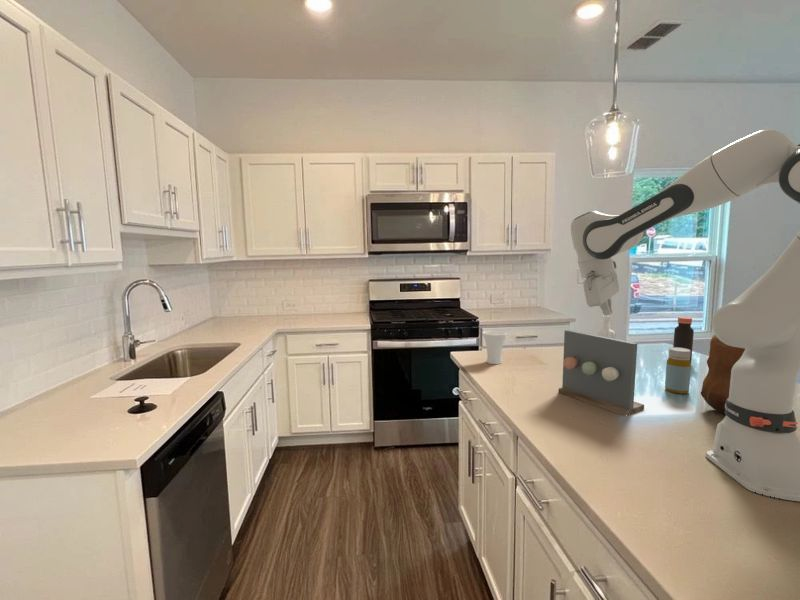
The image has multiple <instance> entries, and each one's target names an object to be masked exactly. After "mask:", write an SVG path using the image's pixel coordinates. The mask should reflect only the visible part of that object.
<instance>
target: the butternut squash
mask: <svg viewBox="0 0 800 600" xmlns="http://www.w3.org/2000/svg"><path fill="white" fill-rule="evenodd" d="M744 351H745V348H738V347H733V346H729V345H727V344H725V343H723V342H722V341H720V340H719V339H718V338H717V336H716V335H715V334H714V335H713V336H712V337H711V339H710V342H709V353H708V354H709V356H708V358H707V360H706V365H707V367H708V370H707V374H706V376H705V377H704V380H703V381H702V385H701V386H702V387H701V391H700V395H701V397H702V398H703V399H704V401H705V402H706V404H707V405H708V406H710V407H711V408H712V409H713V410H716V411H718V412H721V413H723V414H725V403H726V399H727V398H729V389H730V379H731V370H732V367H733V366H734V364H735V363H736V362H737V361H738V360H739V359H740V358H741V356H742V354H743V353H744Z"/></svg>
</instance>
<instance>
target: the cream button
mask: <svg viewBox="0 0 800 600" xmlns="http://www.w3.org/2000/svg"><path fill="white" fill-rule="evenodd" d="M602 376H603V378H604V379H605V380H607V381H612V380H615V379H617V378H618V377H619V372H618V370H617V369H616V368H615V367H608V368H604V369H603V370H602Z"/></svg>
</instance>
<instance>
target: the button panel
mask: <svg viewBox="0 0 800 600" xmlns="http://www.w3.org/2000/svg"><path fill="white" fill-rule="evenodd" d="M563 339H564V341H563V361H564V359H565V358H568V357H575V358H576V359H577V360H578V367H577V368H574V369H570V370H569V369H567V368H565V366H564V363H563V362H562V363H563V364H562V384H561V385H562V387H559V388H558V393H559V394H562V395H565V396H566V397H570V398H573V399H576V400H579V401H581V402H584V403H586V404H587V403H588V405H589V404H590V405H593V406H595V407H597V408H601V409H603V408H604V409H603V410H607V411H610V412H613V413H615V412H616V413H615V414H617V413H618V415H620V414H621V415H620V416H623V415H624V416H623V417H627V416H630V415H633V414H635V412H636V413H638V412H641V411H644V410H645V404H643V403H641V402H638V401H637V402H636V401H635V389H636V388H635V387H636V373H637V372H636V370H637V369H636V368H637V356H638V354H637V353H638V342H634V341H629V340H624V339H617V338H616V339H614V338H608V337H603V336H598V335H597V334H591V333H587V332H583V331H578V330H571V329H566V330H564V337H563ZM590 361H592V362H594V363H596V365H597V367H598V370H597V372H596V373H595V374H591V375H586V374H585V373H584V372H583V371H582V365H583V363H586V362H590ZM608 367H615V368H616V369H617V370H618V372H619V377H618V378H617V379H615V380H612V381H607V380H605V379H604V378H603V376H602V370H603V369H604V368H608ZM643 409H644V410H643ZM640 410H641V411H640ZM637 411H638V412H637ZM632 413H633V414H632ZM629 414H630V415H629ZM626 415H627V416H626Z"/></svg>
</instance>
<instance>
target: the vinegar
mask: <svg viewBox="0 0 800 600" xmlns="http://www.w3.org/2000/svg"><path fill="white" fill-rule="evenodd" d="M692 321H693V318H692V317H687V316H678V317H677V324H678V325H677V326H676V327H675V328H674V330H673V331H674V332H673V333H674V334H673V343H672V344H673V346H672V347H679V348H686V349H689V350H690V351H691V353H690V362H691V363H692V359H693V358H692V357H693V346H694V333H695V331H694V329H693V328H692V326H691V325H692V323H693V322H692Z"/></svg>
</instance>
